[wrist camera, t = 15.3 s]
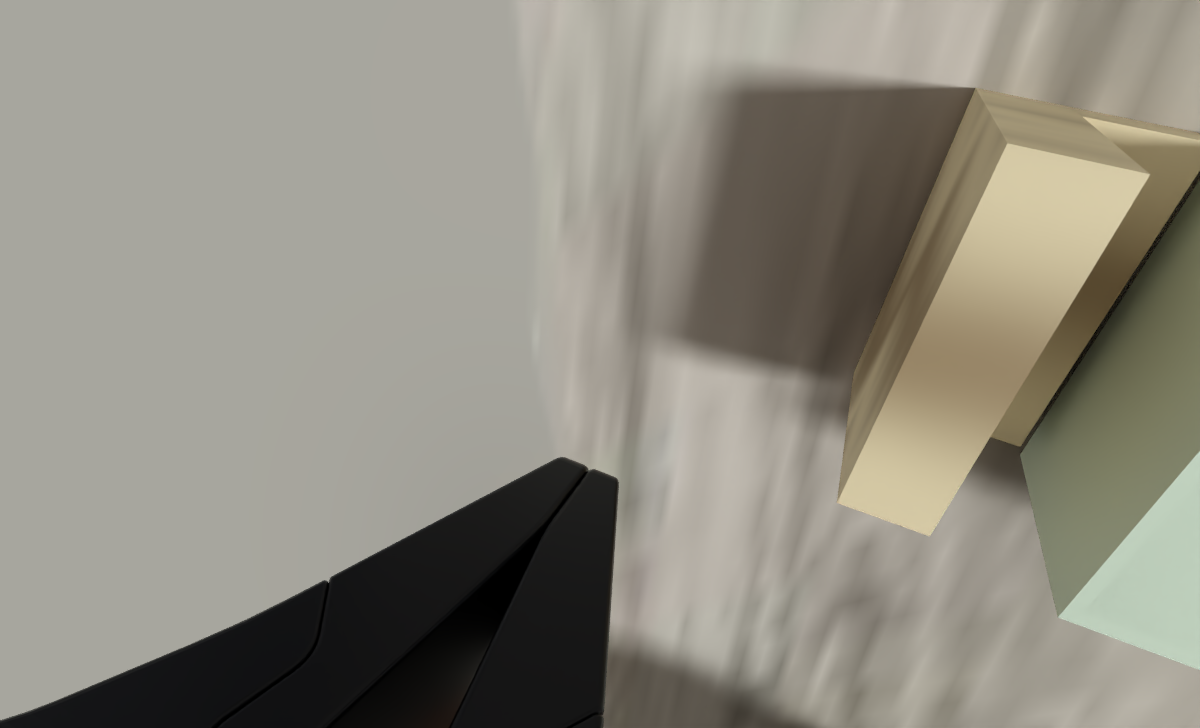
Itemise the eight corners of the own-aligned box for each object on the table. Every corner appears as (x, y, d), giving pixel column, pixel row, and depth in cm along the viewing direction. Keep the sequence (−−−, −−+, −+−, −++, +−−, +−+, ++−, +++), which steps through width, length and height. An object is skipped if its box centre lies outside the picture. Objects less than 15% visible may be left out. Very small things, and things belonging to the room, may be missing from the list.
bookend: (1014, 422, 18) (1052, 580, 14) (853, 371, 20) (837, 502, 15) (1195, 132, 14) (1344, 217, 9) (975, 87, 15) (1007, 143, 10)
